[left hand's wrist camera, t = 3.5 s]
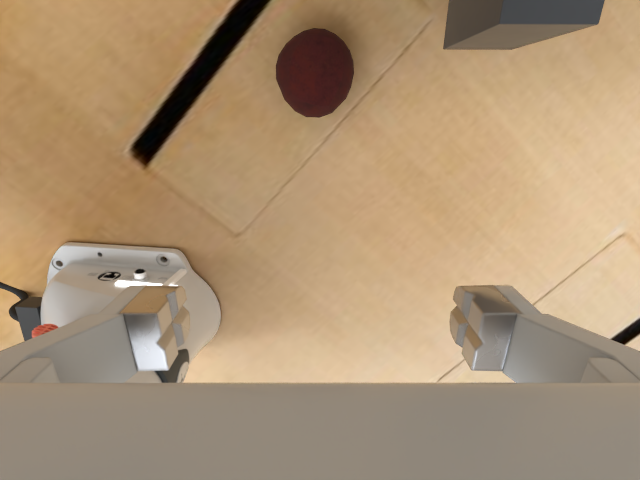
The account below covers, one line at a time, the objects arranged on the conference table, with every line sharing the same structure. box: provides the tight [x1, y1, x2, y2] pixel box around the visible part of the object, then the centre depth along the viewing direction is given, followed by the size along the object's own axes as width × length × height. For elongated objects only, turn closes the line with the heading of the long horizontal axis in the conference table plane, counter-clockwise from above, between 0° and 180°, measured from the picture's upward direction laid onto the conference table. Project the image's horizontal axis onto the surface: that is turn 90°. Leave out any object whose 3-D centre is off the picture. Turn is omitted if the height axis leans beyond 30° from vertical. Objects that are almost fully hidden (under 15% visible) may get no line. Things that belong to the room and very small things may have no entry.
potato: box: [276, 28, 354, 117], centre depth 32 cm, size 7×8×7 cm
